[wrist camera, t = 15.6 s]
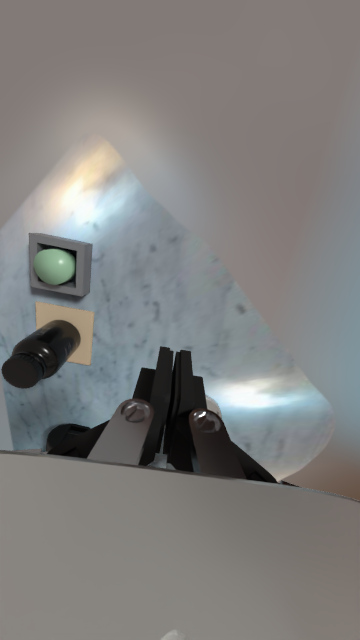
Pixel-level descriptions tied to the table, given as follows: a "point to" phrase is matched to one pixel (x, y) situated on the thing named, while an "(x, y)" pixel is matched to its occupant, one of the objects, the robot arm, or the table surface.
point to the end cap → (63, 434)
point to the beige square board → (74, 316)
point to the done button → (55, 266)
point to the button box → (82, 266)
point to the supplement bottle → (41, 354)
